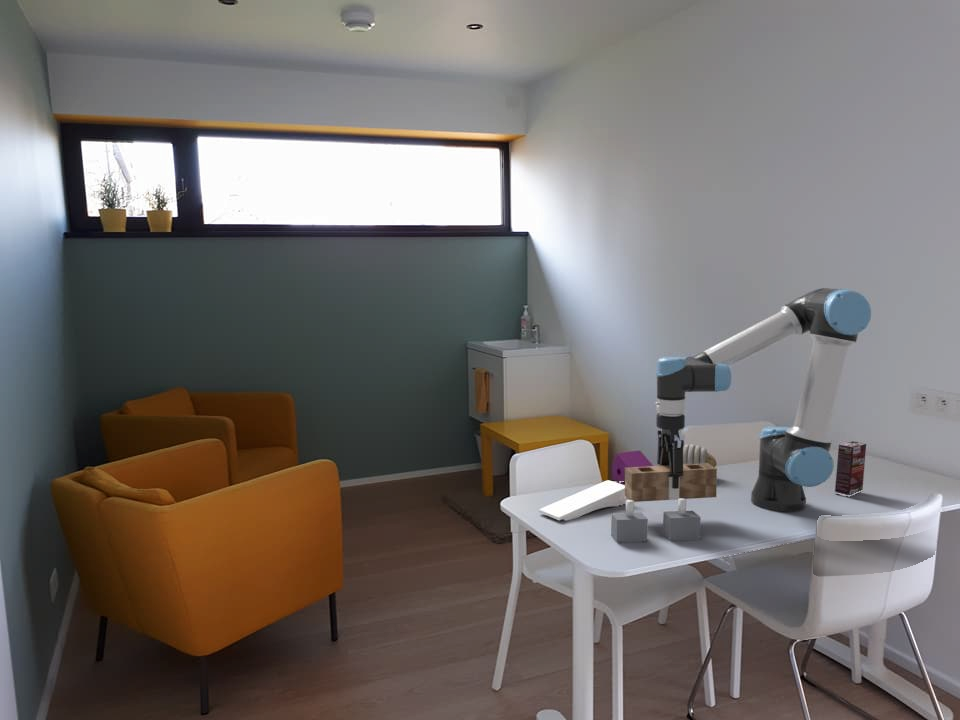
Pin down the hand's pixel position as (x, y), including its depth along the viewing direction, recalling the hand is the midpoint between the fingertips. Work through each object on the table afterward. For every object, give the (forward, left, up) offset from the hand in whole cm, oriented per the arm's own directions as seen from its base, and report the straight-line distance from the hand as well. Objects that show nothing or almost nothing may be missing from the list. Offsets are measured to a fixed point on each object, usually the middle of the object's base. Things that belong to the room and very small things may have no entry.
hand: (669, 495), depth 200 cm
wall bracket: (+21, -11, -8) cm, 25 cm away
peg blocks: (+9, +13, -7) cm, 17 cm away
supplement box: (-64, -17, -7) cm, 67 cm away
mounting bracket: (-3, -32, -7) cm, 33 cm away
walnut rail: (0, 0, 0) cm, 0 cm away
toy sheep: (-22, -40, -7) cm, 47 cm away
